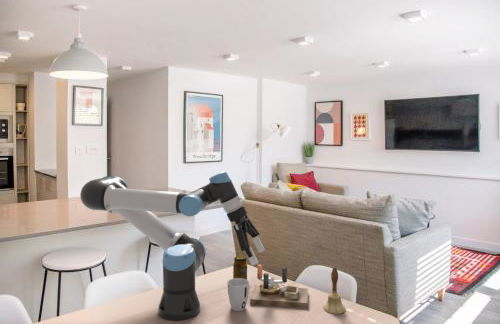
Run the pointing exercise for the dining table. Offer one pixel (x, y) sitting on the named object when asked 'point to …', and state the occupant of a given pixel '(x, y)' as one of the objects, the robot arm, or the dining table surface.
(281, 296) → the stand
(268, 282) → the capstan
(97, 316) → the dining table surface
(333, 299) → the hand bell
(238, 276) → the condiment
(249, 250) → the robot arm
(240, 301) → the cup
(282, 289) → the ball
